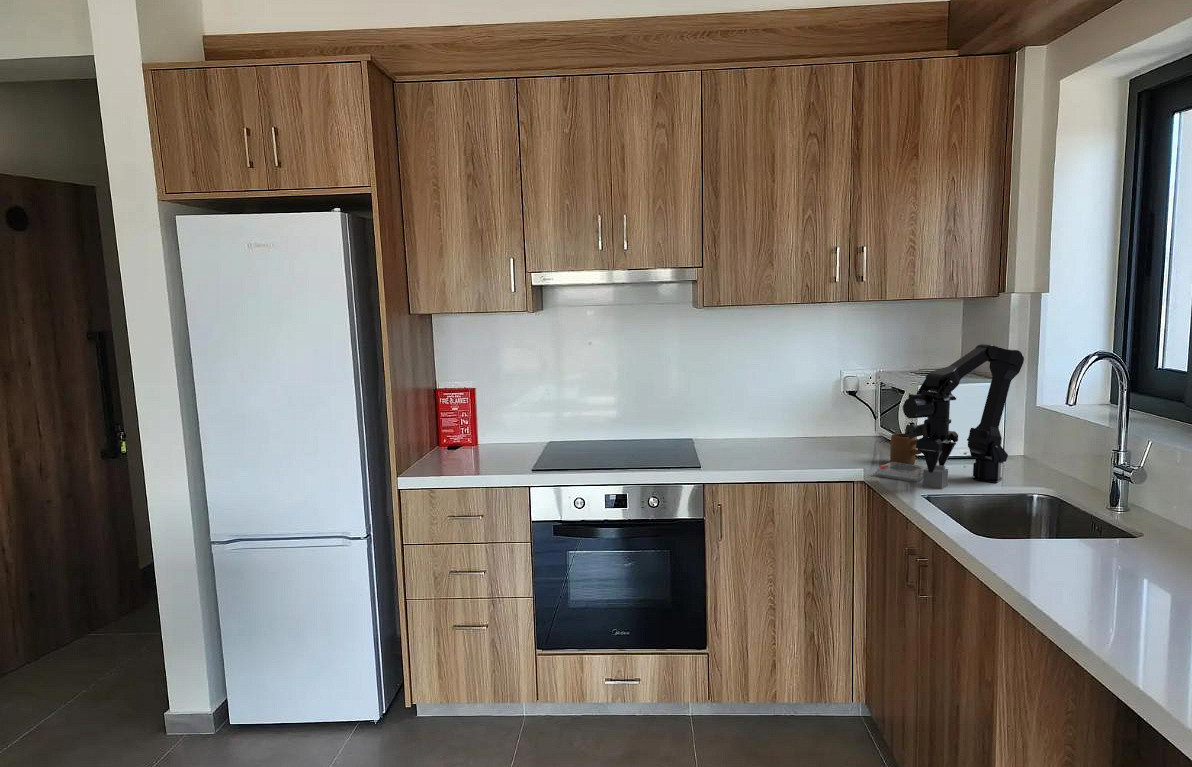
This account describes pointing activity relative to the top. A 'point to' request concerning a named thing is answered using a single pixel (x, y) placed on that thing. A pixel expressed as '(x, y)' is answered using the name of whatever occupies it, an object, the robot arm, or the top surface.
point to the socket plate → (901, 471)
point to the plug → (936, 477)
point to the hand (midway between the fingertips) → (936, 469)
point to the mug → (903, 449)
